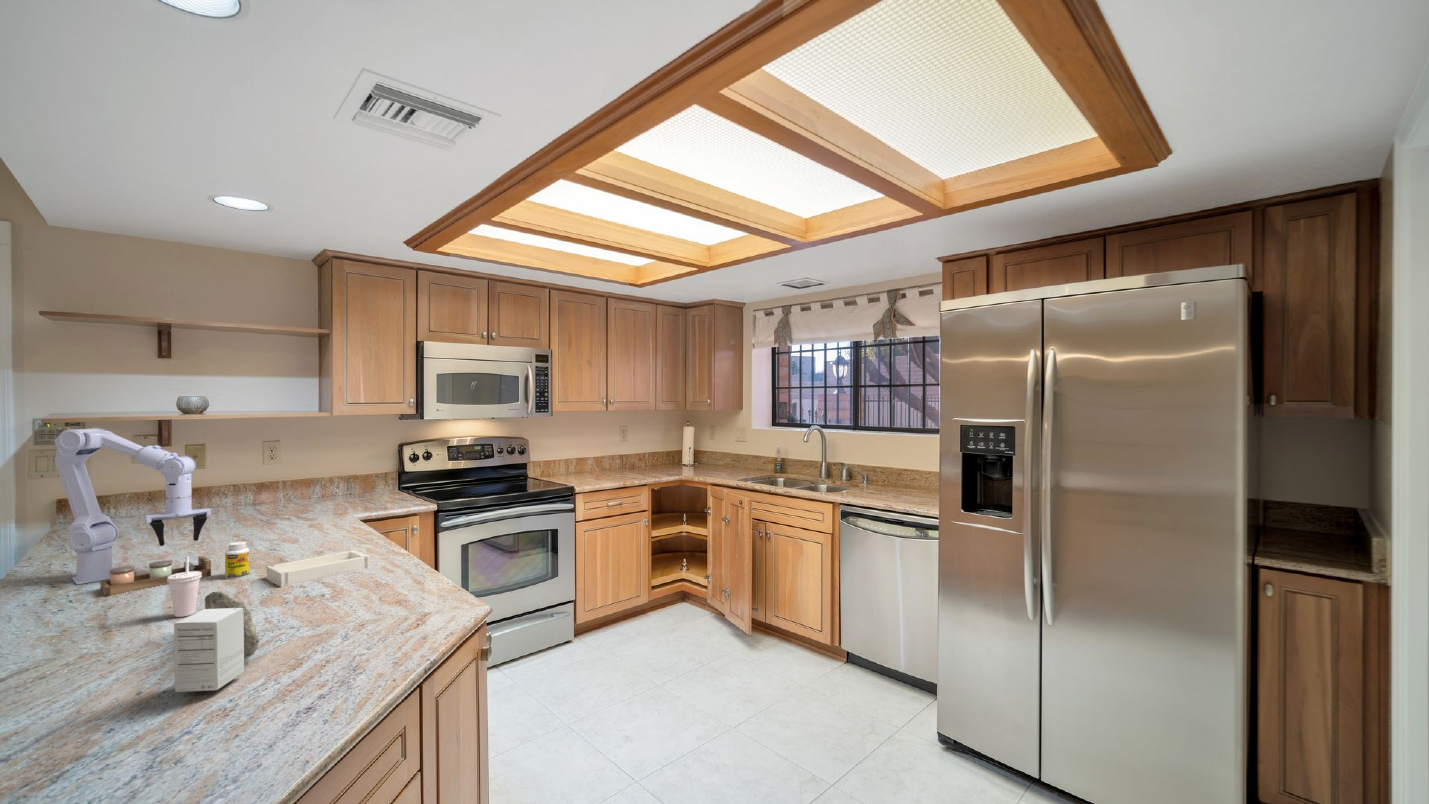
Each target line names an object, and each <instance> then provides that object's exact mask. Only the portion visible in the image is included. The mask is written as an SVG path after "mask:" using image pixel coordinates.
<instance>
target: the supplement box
mask: <svg viewBox="0 0 1429 804" xmlns="http://www.w3.org/2000/svg"><path fill="white" fill-rule="evenodd" d="M173 625H174V626H173V627H174V628H173V629H174V631H173V634H174V635H173V637H174V640H173V643H174V647H173V648H174V651H173V652H174V691H175V692H176V693H178V692H180V693H181V692H183V693H184V692H203V691H204V692H205V691H206V692H207V691H210V692H211V691H218V690H219V689H221V688H223V687H224V686H225V685H226V684H228V683H230V682H231V681H233V680H234V679H235V678H237V677H239V676H240V675H242V674H243V673H245V657H244V615H243V608H222V609H205V608H204V609H202V610H200V611H197V612H195V613H194V614H191V615H188V616H186V617H185V618H182V619H180V620H179V621H176V622H174V623H173Z"/></svg>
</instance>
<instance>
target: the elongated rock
mask: <svg viewBox="0 0 1429 804" xmlns="http://www.w3.org/2000/svg"><path fill="white" fill-rule="evenodd" d="M222 608H243V615H244V658H248V657H249V658H250V657H252V656H254V654H255V653H256V651H257V650H258V646H259V642H260V638H259V636H258V635H257V628H256V625H255V623H254V622H253V619H252V616H251V611H249V610H248V608H247V607H246V606H245V603H244V602H241V601H236V600H235V599H233V598H231V597H230V596H229V595H228V594H225V593H224V592H223V591H212V592H210V593H208V594H207V595H206V596H205V597H204V609H222Z"/></svg>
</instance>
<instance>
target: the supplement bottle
mask: <svg viewBox="0 0 1429 804" xmlns="http://www.w3.org/2000/svg"><path fill="white" fill-rule="evenodd" d="M224 555H225V556H224V557H225V559H224V563H225V566H224V567H225V568H224V569H225V570H224V571H225V572H224V573H225V574H224V577H225V579H226V580H236V579H242V578H246V577H248V576H249V575H250V548H248V547H247V541H235V542H231V543H229V544H228V549H227V550H226V551H225V553H224Z"/></svg>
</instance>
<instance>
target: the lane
mask: <svg viewBox="0 0 1429 804" xmlns="http://www.w3.org/2000/svg"><path fill="white" fill-rule="evenodd" d="M197 559H198V564H196V565H195V564H193V565H194V567H196V571H199V572H201V573H202V577H200V579H202V578H208V577H211V576H212V560H211V559H210V558H207V557H205V556H204V555H199V556H198V557H197ZM183 572H184V566H183V567H177V568H172V575H174V574H177V573H183ZM169 576H171V575H169ZM167 577H168V576H163V577H158V578H152V579H150V572H148V573H147V572H146V573H143V574H142V573H141V574H136V575H135V574H134V582H130V583H124V584H118V585H113V586H110V579H107V580H101V581H99V582H100V584H99V585H100V588H99V589H100V592H101V593H102V594H103V595H104V597H106V598H107V597H112V595H113V596H117V595H116V594H118V595H123V594H127V593H126V592H128V593H131V592H130V591H133V592H137V590H138V591H142V590H141V589H143V590H146V589H145V588H148V589H153V588H157V587H156V586H158V587H161V586H160V585H163V586H168V585H169V582H167ZM167 584H168V585H167ZM152 587H153V588H152ZM122 593H123V594H122Z"/></svg>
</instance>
